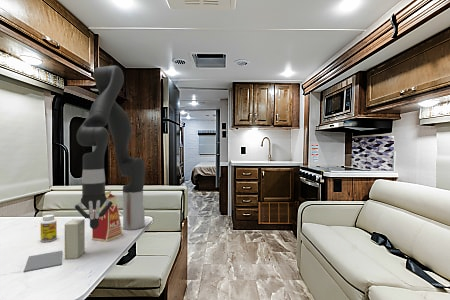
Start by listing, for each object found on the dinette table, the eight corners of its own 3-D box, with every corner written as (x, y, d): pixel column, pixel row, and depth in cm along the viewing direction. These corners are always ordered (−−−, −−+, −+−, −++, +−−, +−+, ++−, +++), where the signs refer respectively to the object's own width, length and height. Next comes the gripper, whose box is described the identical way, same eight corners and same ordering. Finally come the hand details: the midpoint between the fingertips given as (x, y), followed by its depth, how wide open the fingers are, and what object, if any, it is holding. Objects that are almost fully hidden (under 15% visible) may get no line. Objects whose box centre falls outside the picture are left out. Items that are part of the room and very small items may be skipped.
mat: (62, 251, 99) (62, 250, 99) (61, 264, 88) (61, 263, 88) (28, 257, 94) (28, 256, 94) (23, 272, 83) (23, 270, 83)
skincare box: (72, 252, 98) (72, 219, 98) (85, 251, 99) (85, 218, 99) (64, 259, 92) (63, 224, 92) (77, 258, 92) (77, 223, 92)
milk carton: (122, 235, 117) (122, 189, 117) (107, 242, 108) (106, 192, 108) (105, 233, 120) (105, 188, 120) (89, 239, 111) (88, 191, 111)
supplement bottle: (40, 243, 108) (40, 218, 107) (40, 239, 112) (40, 215, 112) (56, 240, 111) (56, 216, 111) (56, 237, 115) (56, 213, 115)
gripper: (111, 179, 105) (112, 223, 105) (72, 181, 98) (73, 229, 98) (114, 181, 98) (115, 228, 98) (73, 183, 92) (73, 234, 92)
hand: (94, 228), depth 98 cm, fingers closed
